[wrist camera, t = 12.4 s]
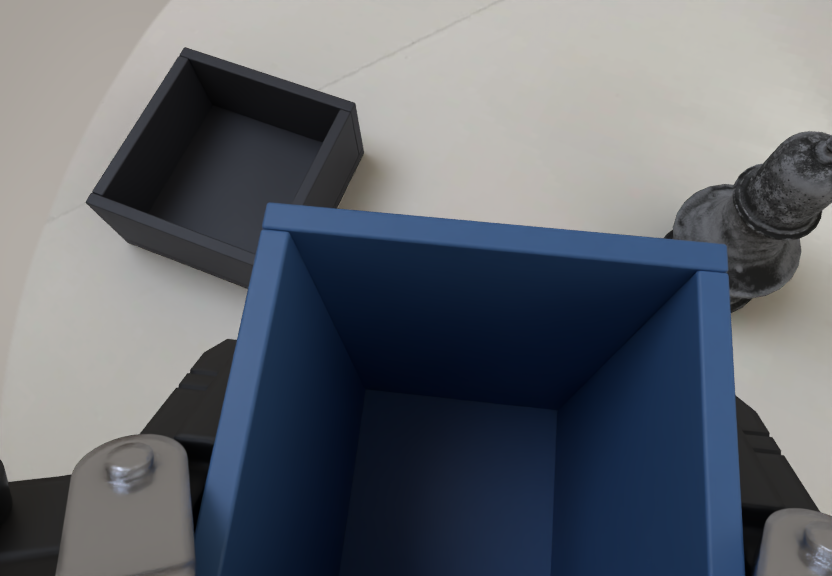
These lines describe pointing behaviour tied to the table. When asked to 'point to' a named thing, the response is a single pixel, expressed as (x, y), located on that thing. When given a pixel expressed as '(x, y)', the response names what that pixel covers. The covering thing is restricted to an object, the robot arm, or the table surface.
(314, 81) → the table surface
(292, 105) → the black bin
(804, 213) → the dark grey tall piece
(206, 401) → the robot arm
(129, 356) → the table surface
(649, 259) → the blue bin
